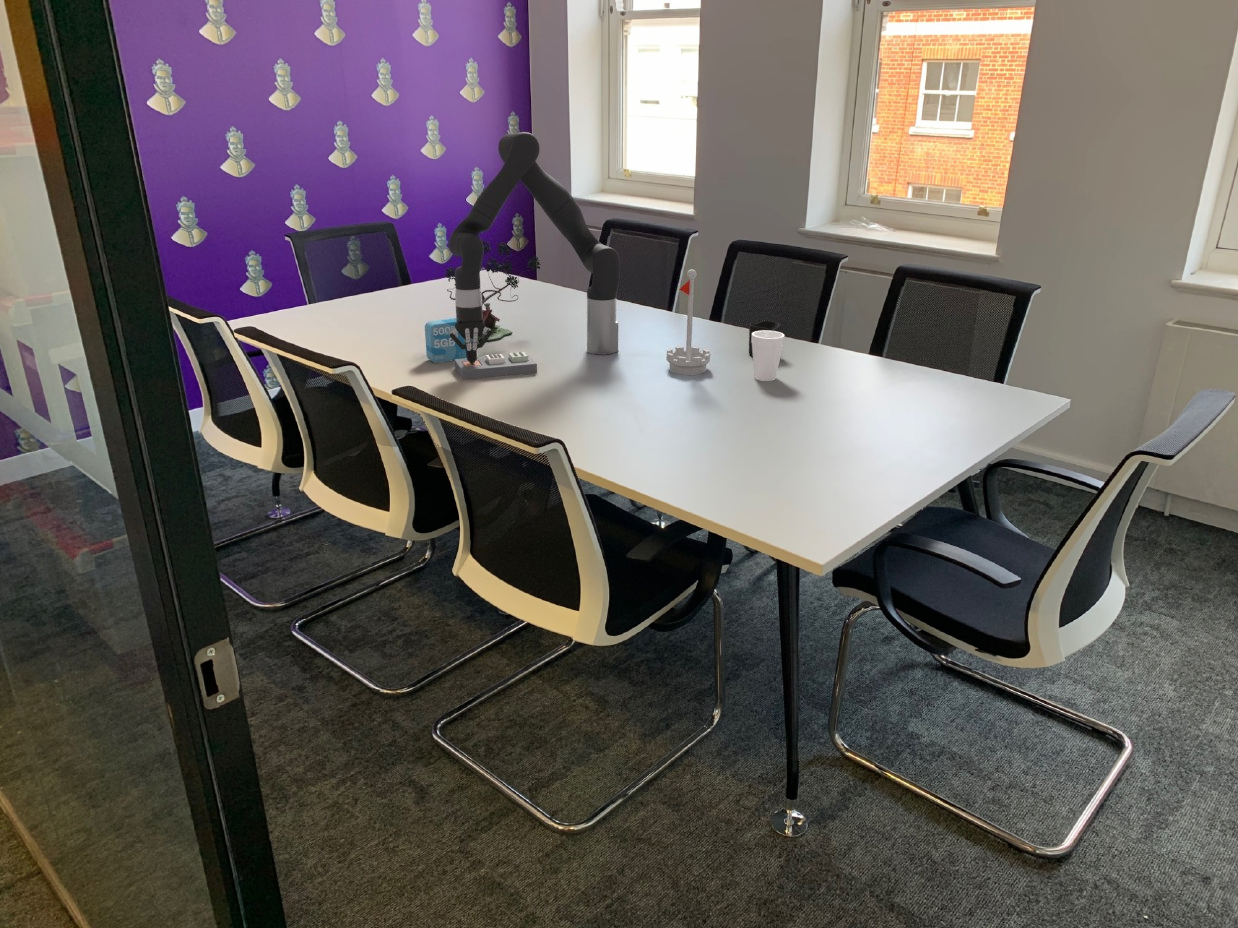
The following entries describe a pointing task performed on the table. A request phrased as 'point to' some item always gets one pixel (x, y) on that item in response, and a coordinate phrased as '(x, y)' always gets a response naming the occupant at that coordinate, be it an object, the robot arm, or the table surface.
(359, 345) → the table surface
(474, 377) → the button panel
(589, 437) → the table surface
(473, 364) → the button one
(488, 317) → the bonsai tree
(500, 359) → the button three
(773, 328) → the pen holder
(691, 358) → the flag stand
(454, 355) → the data package
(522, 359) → the button two
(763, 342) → the foam cup
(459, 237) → the robot arm
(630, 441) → the table surface
